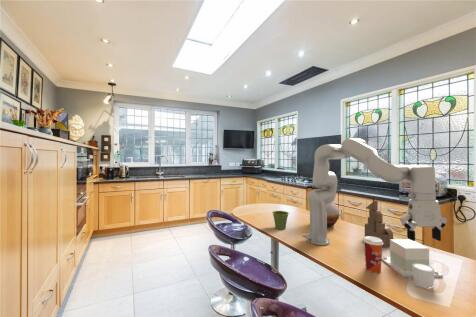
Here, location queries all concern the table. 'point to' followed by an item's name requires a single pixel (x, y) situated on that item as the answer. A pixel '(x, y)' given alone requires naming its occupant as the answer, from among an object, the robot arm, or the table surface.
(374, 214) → the wooden toy
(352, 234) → the table surface
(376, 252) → the paper cup
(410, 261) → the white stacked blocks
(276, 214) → the plant pot
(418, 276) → the white cylinder
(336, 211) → the jug
